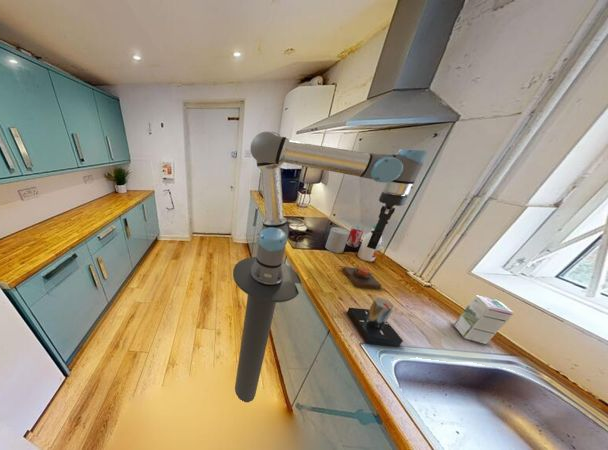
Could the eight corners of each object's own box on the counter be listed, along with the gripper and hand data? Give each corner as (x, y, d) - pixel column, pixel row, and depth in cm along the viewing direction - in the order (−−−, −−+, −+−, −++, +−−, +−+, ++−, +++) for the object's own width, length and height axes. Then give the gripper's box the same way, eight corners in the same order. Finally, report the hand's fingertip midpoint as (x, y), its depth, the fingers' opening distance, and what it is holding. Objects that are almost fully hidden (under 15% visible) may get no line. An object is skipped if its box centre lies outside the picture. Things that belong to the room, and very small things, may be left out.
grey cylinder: (333, 243, 124) (339, 226, 119) (347, 251, 116) (354, 233, 111) (321, 245, 121) (327, 228, 116) (334, 254, 113) (341, 235, 108)
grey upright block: (361, 315, 70) (371, 296, 66) (376, 317, 70) (387, 297, 66) (370, 328, 66) (381, 307, 62) (386, 329, 65) (398, 309, 61)
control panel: (346, 313, 75) (349, 307, 74) (374, 316, 74) (377, 309, 73) (366, 343, 64) (369, 336, 63) (399, 346, 63) (403, 340, 62)
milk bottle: (365, 262, 106) (379, 229, 98) (353, 254, 113) (365, 222, 105) (377, 261, 107) (392, 228, 99) (365, 253, 114) (378, 222, 106)
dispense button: (355, 270, 94) (356, 266, 93) (364, 270, 94) (365, 267, 93) (360, 275, 90) (362, 271, 89) (369, 276, 90) (371, 272, 89)
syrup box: (487, 344, 65) (517, 313, 59) (462, 338, 67) (489, 306, 61) (474, 330, 69) (500, 299, 63) (451, 324, 71) (475, 294, 65)
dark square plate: (342, 270, 99) (344, 263, 98) (363, 272, 98) (366, 265, 97) (355, 287, 88) (358, 279, 87) (379, 289, 88) (383, 282, 86)
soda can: (358, 245, 123) (365, 228, 118) (356, 249, 119) (363, 231, 114) (346, 241, 127) (353, 225, 122) (344, 245, 123) (350, 227, 118)
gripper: (407, 202, 63) (381, 257, 72) (409, 189, 80) (387, 235, 89) (378, 197, 68) (357, 249, 77) (385, 186, 85) (367, 230, 93)
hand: (373, 242), depth 83 cm, fingers open, 13 cm apart
